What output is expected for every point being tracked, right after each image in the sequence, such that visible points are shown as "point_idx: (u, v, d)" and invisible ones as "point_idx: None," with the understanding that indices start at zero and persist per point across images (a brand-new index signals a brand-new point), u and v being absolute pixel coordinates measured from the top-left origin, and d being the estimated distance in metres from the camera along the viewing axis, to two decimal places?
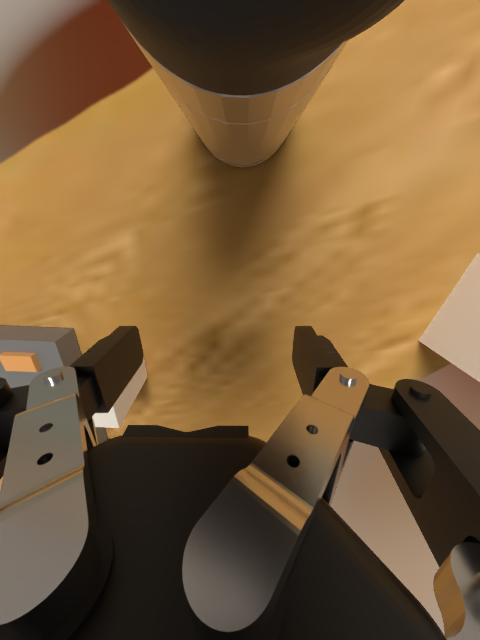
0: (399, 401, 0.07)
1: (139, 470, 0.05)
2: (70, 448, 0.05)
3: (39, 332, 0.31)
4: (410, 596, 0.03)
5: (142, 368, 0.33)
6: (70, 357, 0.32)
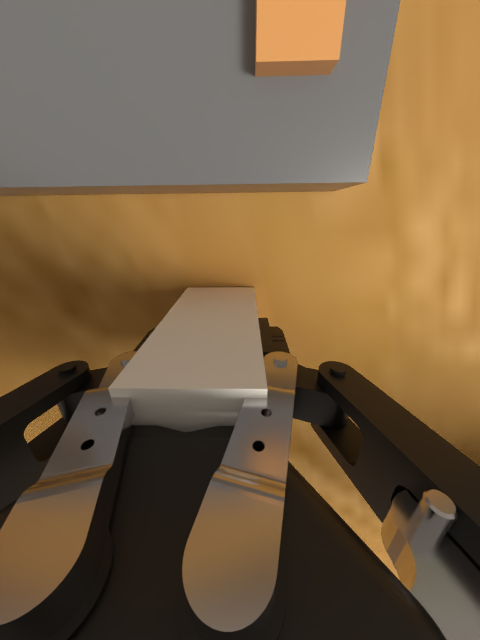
0: (325, 384, 0.07)
1: (139, 470, 0.05)
2: (109, 441, 0.05)
3: None
4: (410, 596, 0.03)
5: None
6: (271, 187, 0.10)
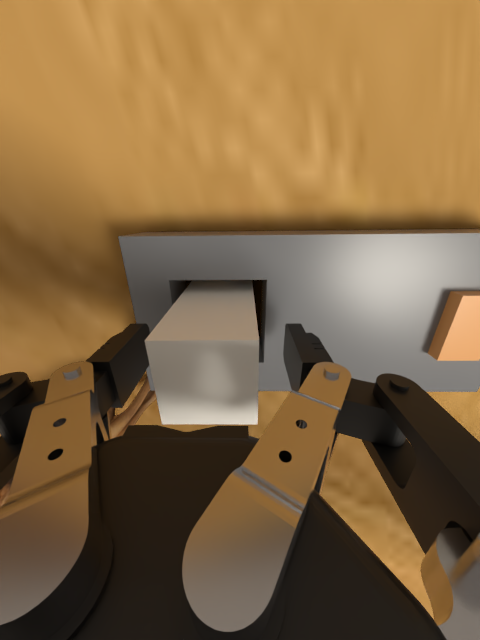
0: (380, 395, 0.07)
1: (139, 470, 0.05)
2: (80, 445, 0.05)
3: None
4: (410, 596, 0.03)
5: None
6: None
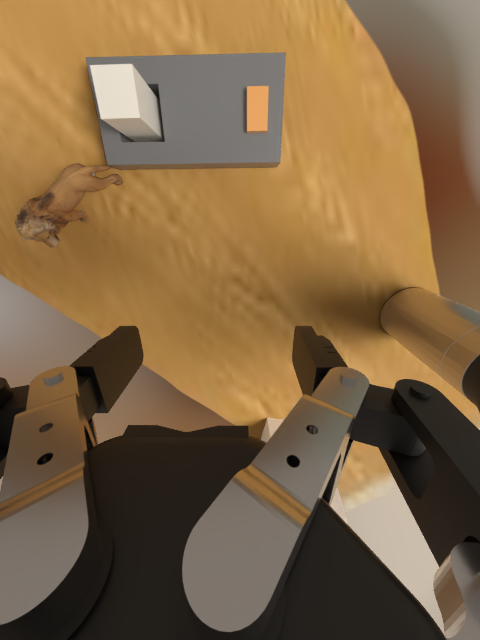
0: (399, 401, 0.07)
1: (139, 470, 0.05)
2: (71, 447, 0.05)
3: None
4: (410, 596, 0.03)
5: (153, 141, 0.31)
6: (253, 164, 0.31)
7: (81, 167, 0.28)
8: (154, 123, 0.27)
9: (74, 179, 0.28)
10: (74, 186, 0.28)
